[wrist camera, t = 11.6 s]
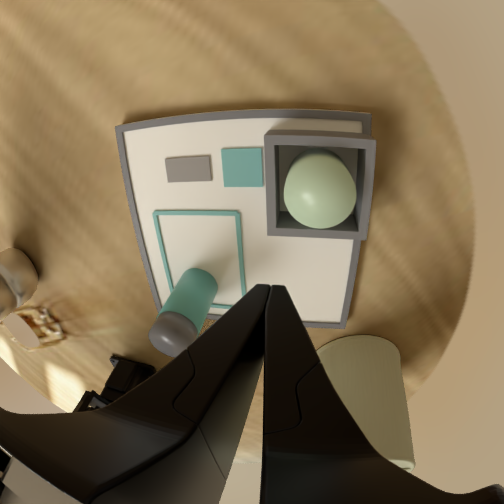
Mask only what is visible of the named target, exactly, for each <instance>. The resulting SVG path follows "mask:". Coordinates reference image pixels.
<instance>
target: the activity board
mask: <svg viewBox="0 0 504 504" xmlns="http://www.w3.org/2000/svg"><path fill="white" fill-rule="evenodd" d="M371 120H372V114H370V113H364V112H353V111H340V110H321V109H248V110H229V111H216V112H204V113H194V114H185V115H177V116H170V117H163V118H156V119H150V120H144V121H138V122H132V123H127V124H122V125H118V126H115V131H116V138H117V144H118V150H119V156H120V162H121V168H122V173H123V179H124V184H125V189H126V194H127V199H128V203H129V208H130V212H131V217H132V221H133V225H134V230H135V234H136V238H137V242H138V246H139V249H140V253H141V257H142V261H143V264H144V268H145V271H146V275H147V278H148V282H149V285H150V289H151V292H152V295H153V298H154V302H155V305H156V308H157V311H158V313H159V312H160V311H161V309H162V307H163V305H164V304H165V302H166V301H167V299H168V297H169V296H170V294H171V292H172V291H173V289H174V287H175V286H176V284H177V282H178V281H179V279H180V278H181V276H182V274H183V273H184V272H185V271H186V270H188V269H191V268H198V269H202V270H205V271H207V272H208V273H210V274H211V275H212V276H213V277H214V278H215V280H216V282H217V285H218V290H217V293H216V296H215V298H214V300H213V303H212V305H211V307H210V310H209V312H208V314H207V317H206V319H212V320H218V319H219V318H220V317H221V316H222V315H223V314H224V313H226V312H227V311H228V310H229V309H230V308H231V307H232V306H233V305H234V304H235V303H236V302H238V301H239V300H240V299H241V298H242V297H243V296H244V295H245V294H246V293H247V292H248V291H249V290H250V289H252V288H253V287H254V286H255V285H256V284H269V285H270V286H271V285H285V286H286V288H287V290H288V292H289V294H290V296H291V299H292V301H293V303H294V305H295V307H296V309H297V311H298V313H299V315H300V318H301V320H302V322H303V324H304V326H305V327H311V328H334V329H345V327H346V322H347V317H348V313H349V308H350V303H351V298H352V293H353V287H354V282H355V276H356V270H357V264H358V258H359V252H360V245H361V240H366V239H367V232H368V225H369V217H370V209H371V200H372V191H373V181H374V169H375V156H376V140H375V139H374V138H373V137H371ZM312 148H323V149H327V150H330V151H332V152H334V153H335V154H337V155H338V156H339V157H340V158H341V159H342V160H343V161H344V163H345V165H346V167H347V169H348V171H349V173H350V175H351V177H352V179H353V181H354V183H355V187H356V202H355V206H354V208H353V210H352V212H351V213H350V215H349V216H348V217H347V218H346V219H345V220H344V221H342V222H341V223H339V224H338V225H335V226H333V227H329V228H323V229H318V228H312V227H308V226H305V225H303V224H301V223H300V222H298V221H297V220H296V219H295V218H294V217H293V216H292V215H291V214H290V212H289V211H288V209H287V207H286V205H285V201H284V187H285V182H286V178H287V174H288V169H289V166H290V164H291V162H292V161H293V159H294V158H295V157H296V156H297V155H299V154H300V153H301V152H303V151H305V150H308V149H312Z"/></svg>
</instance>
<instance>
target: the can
mask: <svg viewBox="0 0 504 504" xmlns="http://www.w3.org/2000/svg"><path fill="white" fill-rule="evenodd" d="M316 352H317V354H318V356H319V358H320V360H321V363H322V364H323V366H324V369H325V371H326V373H327V375H328V377H329V379H330V381H331V383H332V385H333V387H334V388H335V390H336V392H337V393H338V395H339V397H340V398H341V400H342V402H343V403H344V405H345V406H346V408H347V409H348V411H349V412H350V414H351V415H352V417H353V418H354V420H355V421H356V423H357V424H358V426H359V427H360V429H361V430H362V432H363V433H364V435H365V436H366V438H367V439H368V441H369V442H370V443H371V445H372V446H373V447H374V448H375V449H376V450H377V451H378V452H379V453H380V454H381V455H382V456H383V457H385V458H386V459H388V460H389V461H391V462H392V463H394V464H396V465H397V466H399V467H401V468H402V469H404V470H406V471H407V472H409V473H410V472H411V471H412V470H413V469H414V468H415V460H414V454H413V445H412V437H411V429H410V422H409V414H408V408H407V401H406V394H405V388H404V382H403V377H402V371H401V364H400V361H401V357H400V353H399V350H398V349H397V347H396V346H395V345H394V344H393V343H392V342H390V341H389V340H386V339H384V338H381V337H378V336H372V335H353V336H347V337H343V338H339V339H337V340H334V341H331V342H329V343H327V344H325V345H324V346H322V347H321V348H319V349H318V350H317V351H316Z"/></svg>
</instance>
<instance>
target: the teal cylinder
mask: <svg viewBox="0 0 504 504" xmlns="http://www.w3.org/2000/svg"><path fill="white" fill-rule="evenodd" d="M217 290H218V285H217V282H216V280H215V278H214V277H213V276H212V275H211V274H210V273H208V272H207V271H205V270H202V269H198V268H191V269H188V270H186V271H185V272H184V273H183V274H182V276H181V278H180V279H179V281H178V282H177V284H176V286H175V287H174V289H173V291H172V292H171V294H170V296H169V297H168V299H167V301H166V302H165V304H164V305H163V307H162V309H161V311H160V312H159V314H158V316H157V318H156V320H155V322H154V324H153V326H152V327H151V329H150V331H149V334H148V336H149V340H150V342H151V343H152V344H153V346H154V347H155V348H156V349H158V350H159V351H160V352H162V353H164V354H166V355H168V356H171V357H176V356H178V355H179V354H180V353H181V352H182V351H183V350H184V349H187V347H188V346H189V345H190V344H191V343H192V342H193V341H195V340H196V339H197V338H198V335H199V333H200V331H201V328H202V326H203V324H204V321H205V319H206V317H207V314H208V312H209V310H210V307H211V305H212V303H213V300H214V298H215V296H216V293H217Z"/></svg>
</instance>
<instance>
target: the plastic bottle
mask: <svg viewBox="0 0 504 504" xmlns="http://www.w3.org/2000/svg"><path fill="white" fill-rule="evenodd" d="M37 285H38V275H37V272H36V270H35V267H34V266H33V264H32V262H31V261H30V259H29V258H28V257H27V256H26V255H25V254H24V253H23V252H22V251H21V250H19V249H16V248H8V249H6V250H4V251H2V252H0V322H1V321H2V320H3V319H5V318H6V317H7V316H8V315H9V314H10V313H11V312H12V311H13V310H15V309H16V308H18V307H19V306H21V305H23V304H24V303H25V302H26V301H28V300H29V299H30V298H31V297H32V295H33V294H34V292H35V291H36V289H37Z"/></svg>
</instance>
